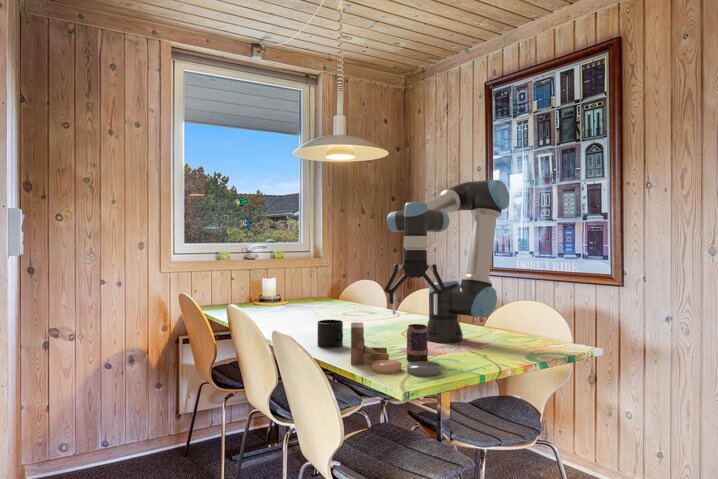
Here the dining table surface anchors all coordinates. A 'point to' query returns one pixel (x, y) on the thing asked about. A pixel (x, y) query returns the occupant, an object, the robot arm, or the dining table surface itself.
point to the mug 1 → (330, 333)
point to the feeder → (364, 348)
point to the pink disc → (386, 366)
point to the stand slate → (423, 369)
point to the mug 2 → (417, 343)
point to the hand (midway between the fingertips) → (414, 314)
